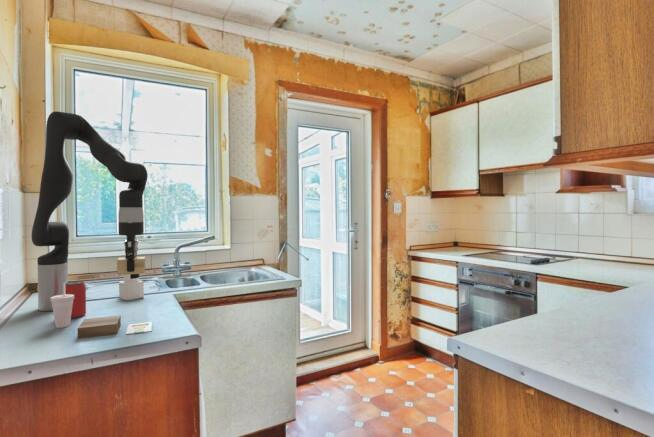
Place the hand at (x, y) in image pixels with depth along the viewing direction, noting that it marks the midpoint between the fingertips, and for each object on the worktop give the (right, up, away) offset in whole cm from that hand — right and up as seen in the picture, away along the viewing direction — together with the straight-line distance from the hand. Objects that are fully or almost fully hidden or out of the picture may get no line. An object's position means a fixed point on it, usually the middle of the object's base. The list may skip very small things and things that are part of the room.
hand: (131, 269), depth 124 cm
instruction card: (+7, -17, -9) cm, 21 cm away
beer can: (-23, -17, +5) cm, 29 cm away
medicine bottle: (-18, -17, +33) cm, 41 cm away
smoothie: (-19, -17, -6) cm, 27 cm away
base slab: (-4, -17, -11) cm, 21 cm away
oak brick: (0, -1, 0) cm, 1 cm away
